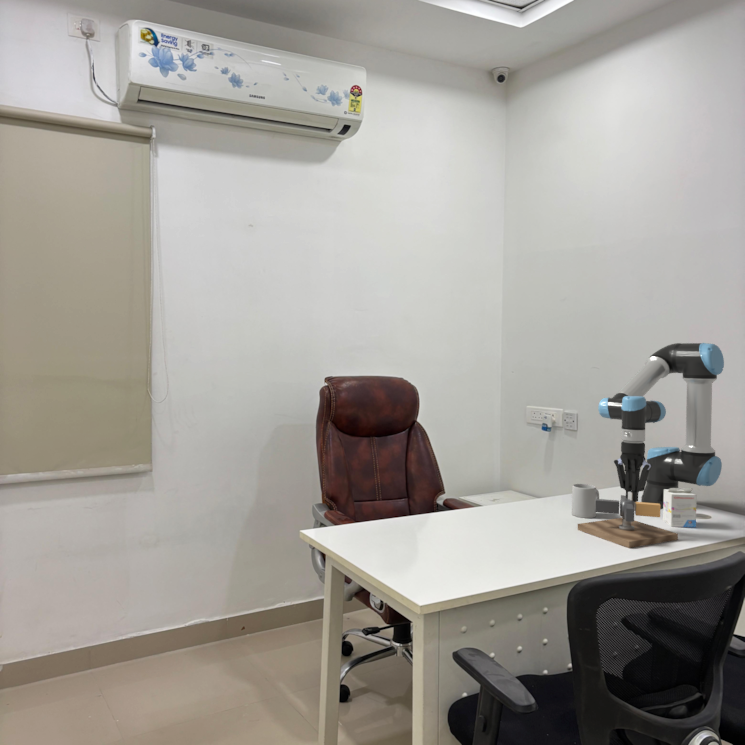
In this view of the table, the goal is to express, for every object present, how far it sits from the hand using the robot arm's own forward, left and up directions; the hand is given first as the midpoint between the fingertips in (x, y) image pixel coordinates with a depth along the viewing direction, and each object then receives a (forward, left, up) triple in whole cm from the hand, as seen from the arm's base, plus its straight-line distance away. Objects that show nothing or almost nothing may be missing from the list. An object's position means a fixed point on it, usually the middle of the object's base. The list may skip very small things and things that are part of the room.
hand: (631, 510), depth 216 cm
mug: (-2, -22, -7) cm, 24 cm away
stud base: (+5, +3, -7) cm, 9 cm away
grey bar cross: (+5, +3, -1) cm, 6 cm away
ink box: (-23, +1, -7) cm, 24 cm away
